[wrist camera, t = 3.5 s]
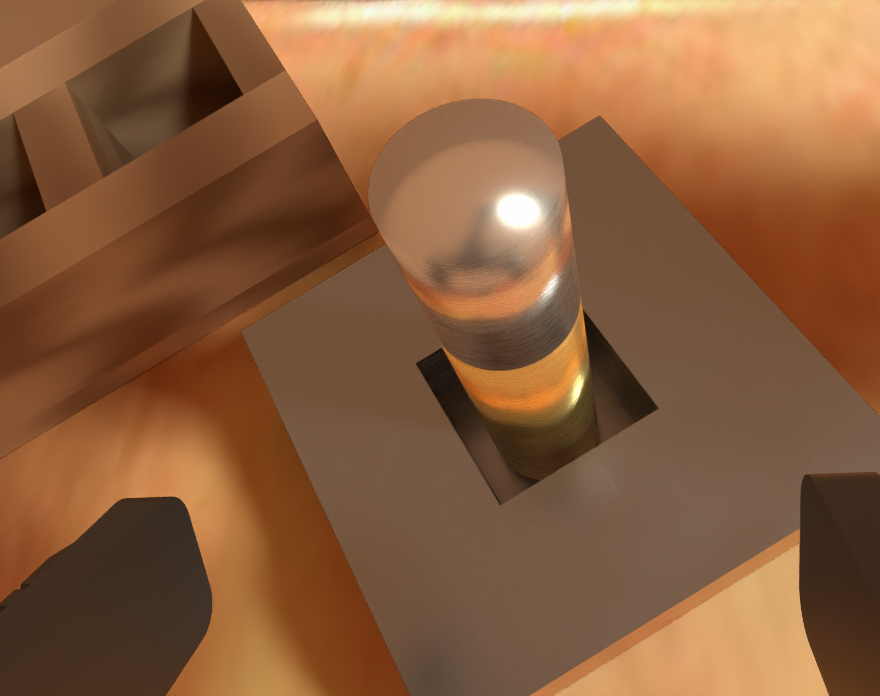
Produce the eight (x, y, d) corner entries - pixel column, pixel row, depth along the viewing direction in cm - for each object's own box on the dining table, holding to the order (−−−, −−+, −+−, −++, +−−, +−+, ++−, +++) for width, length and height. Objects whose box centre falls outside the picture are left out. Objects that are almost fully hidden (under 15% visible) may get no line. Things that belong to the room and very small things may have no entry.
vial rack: (277, 71, 32) (206, -53, 27) (378, 231, 28) (317, 119, 22) (-177, 340, 32) (-339, 267, 27) (-152, 549, 27) (-343, 512, 22)
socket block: (605, 205, 26) (599, 115, 22) (861, 504, 20) (916, 456, 16) (301, 388, 26) (240, 331, 22) (476, 743, 20) (436, 753, 16)
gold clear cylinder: (561, 363, 23) (498, 68, 12) (619, 444, 21) (603, 191, 11) (475, 415, 23) (337, 164, 12) (528, 500, 21) (422, 299, 11)
